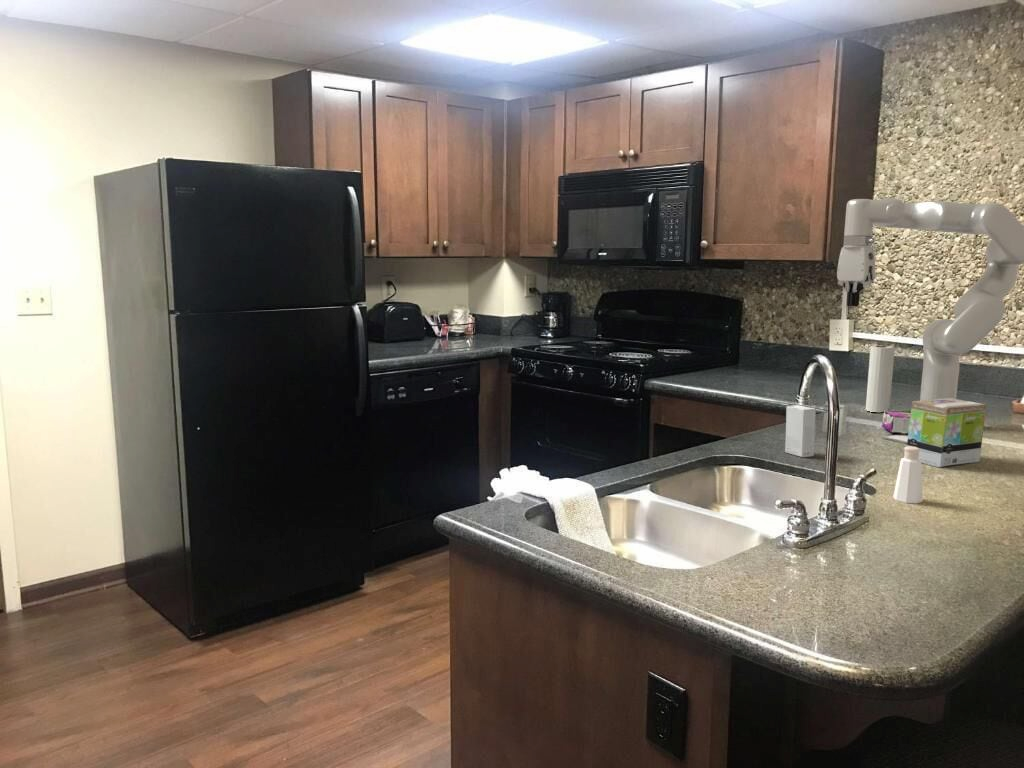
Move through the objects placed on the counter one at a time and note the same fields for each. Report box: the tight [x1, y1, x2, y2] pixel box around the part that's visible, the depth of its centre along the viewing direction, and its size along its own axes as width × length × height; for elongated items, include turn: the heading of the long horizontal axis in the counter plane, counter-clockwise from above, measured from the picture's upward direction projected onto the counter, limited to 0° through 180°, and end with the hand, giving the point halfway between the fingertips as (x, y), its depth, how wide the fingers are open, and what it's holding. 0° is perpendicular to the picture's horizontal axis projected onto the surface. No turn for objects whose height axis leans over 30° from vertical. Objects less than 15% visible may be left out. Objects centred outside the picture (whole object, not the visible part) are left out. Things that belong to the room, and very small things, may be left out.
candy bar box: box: [881, 411, 911, 434], centre depth 231 cm, size 11×5×16 cm
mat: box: [881, 433, 908, 444], centre depth 221 cm, size 13×16×1 cm
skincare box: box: [784, 404, 817, 458], centre depth 205 cm, size 6×4×12 cm
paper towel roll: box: [865, 345, 896, 413], centre depth 263 cm, size 7×6×21 cm
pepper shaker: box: [893, 445, 923, 505], centre depth 167 cm, size 5×5×11 cm
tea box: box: [906, 398, 987, 468], centre depth 200 cm, size 15×10×15 cm
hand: (852, 305), depth 241 cm, fingers closed
